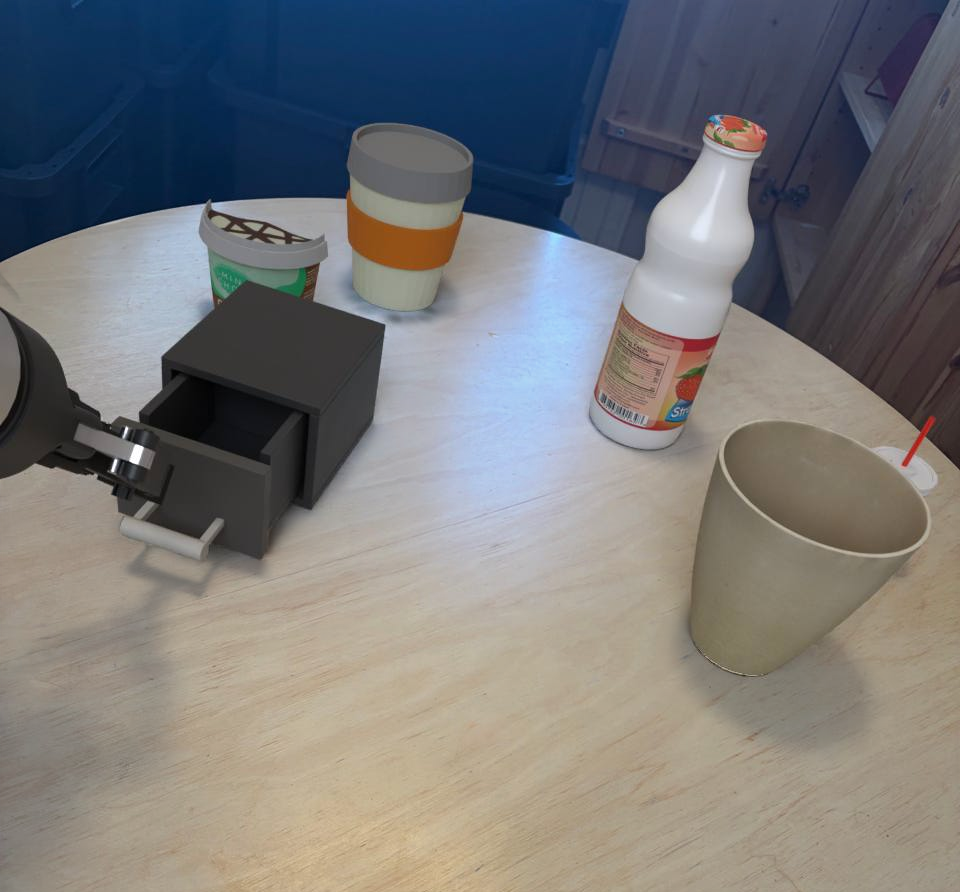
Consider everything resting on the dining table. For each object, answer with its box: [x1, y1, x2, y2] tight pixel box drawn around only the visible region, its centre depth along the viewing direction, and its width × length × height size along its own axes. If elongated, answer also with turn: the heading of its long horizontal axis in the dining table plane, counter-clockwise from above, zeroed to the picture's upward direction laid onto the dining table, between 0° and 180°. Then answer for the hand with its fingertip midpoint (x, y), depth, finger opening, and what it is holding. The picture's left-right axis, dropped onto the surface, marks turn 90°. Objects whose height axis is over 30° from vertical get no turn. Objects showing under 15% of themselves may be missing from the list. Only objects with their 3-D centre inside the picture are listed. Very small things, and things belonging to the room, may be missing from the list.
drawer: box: [110, 372, 310, 562], centre depth 73 cm, size 18×11×8 cm, turn 165°
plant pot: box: [689, 417, 933, 675], centre depth 72 cm, size 15×15×16 cm
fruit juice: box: [589, 114, 768, 451], centre depth 87 cm, size 9×9×28 cm
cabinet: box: [160, 280, 387, 511], centre depth 81 cm, size 15×13×10 cm
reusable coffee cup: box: [346, 122, 474, 312], centre depth 102 cm, size 13×13×15 cm
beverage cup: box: [872, 415, 938, 498], centre depth 85 cm, size 6×6×14 cm
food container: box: [198, 199, 329, 309], centre depth 92 cm, size 12×6×10 cm, turn 76°
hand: (157, 482), depth 64 cm, fingers closed
